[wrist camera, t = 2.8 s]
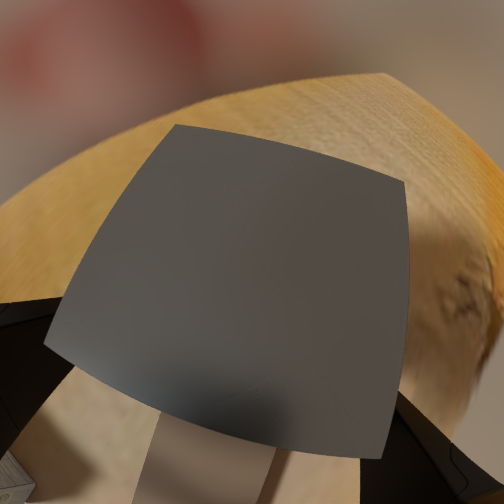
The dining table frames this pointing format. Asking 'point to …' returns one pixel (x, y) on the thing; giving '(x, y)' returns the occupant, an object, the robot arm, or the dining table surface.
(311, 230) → the grey rectangular block
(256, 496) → the walnut body
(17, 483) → the medicine box
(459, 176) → the dining table surface
